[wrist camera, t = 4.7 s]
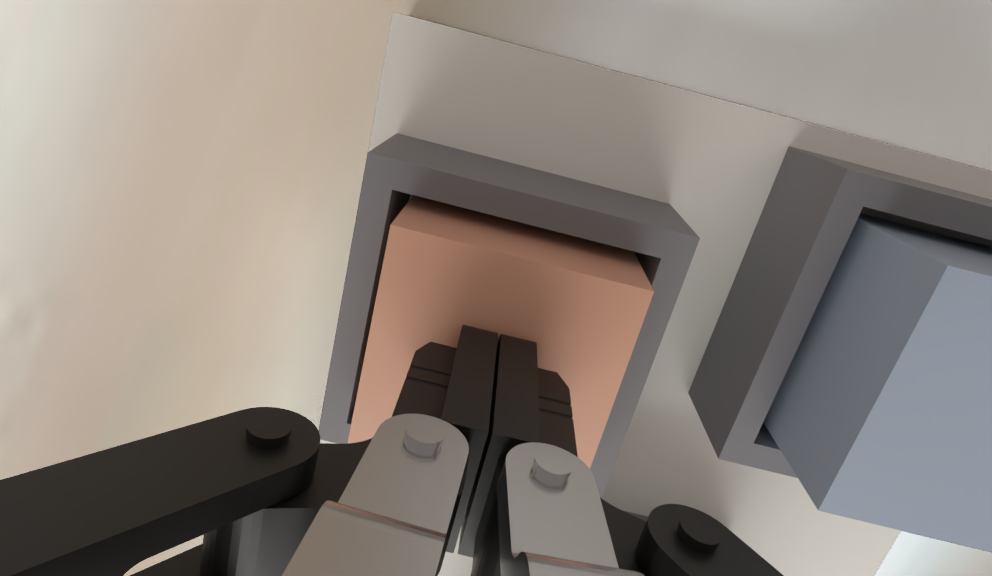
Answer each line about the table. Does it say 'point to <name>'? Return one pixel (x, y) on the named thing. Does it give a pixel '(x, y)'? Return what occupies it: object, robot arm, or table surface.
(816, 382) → the slate blue button
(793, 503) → the button panel
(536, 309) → the terracotta button
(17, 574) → the robot arm
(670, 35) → the table surface
